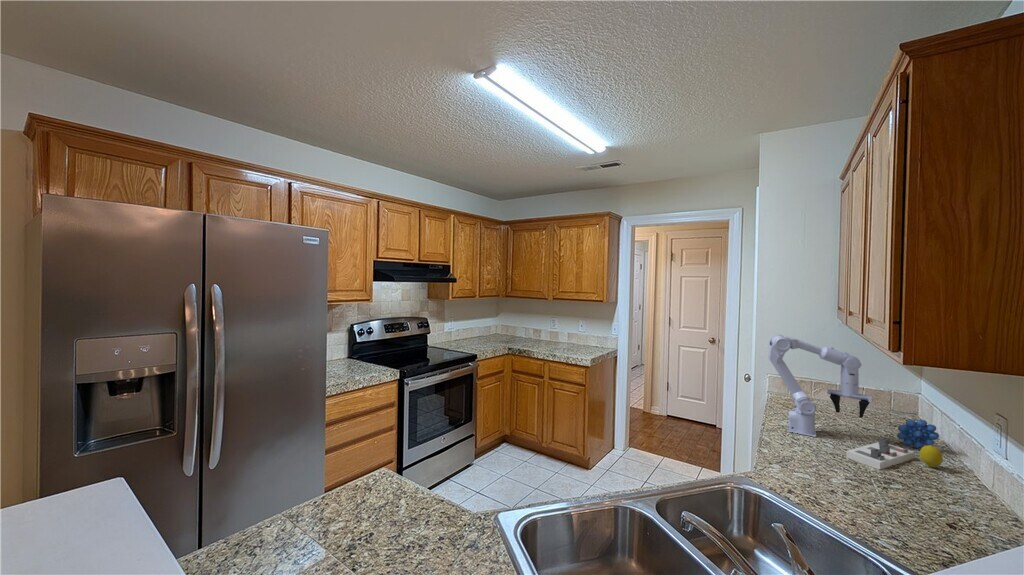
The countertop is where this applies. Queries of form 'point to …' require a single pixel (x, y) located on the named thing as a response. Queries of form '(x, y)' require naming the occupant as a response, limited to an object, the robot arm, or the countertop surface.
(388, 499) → the countertop surface
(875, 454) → the switch near
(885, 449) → the switch middle
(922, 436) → the grapes
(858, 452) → the switch panel
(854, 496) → the countertop surface
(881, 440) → the switch far
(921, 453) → the lemon
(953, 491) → the countertop surface
